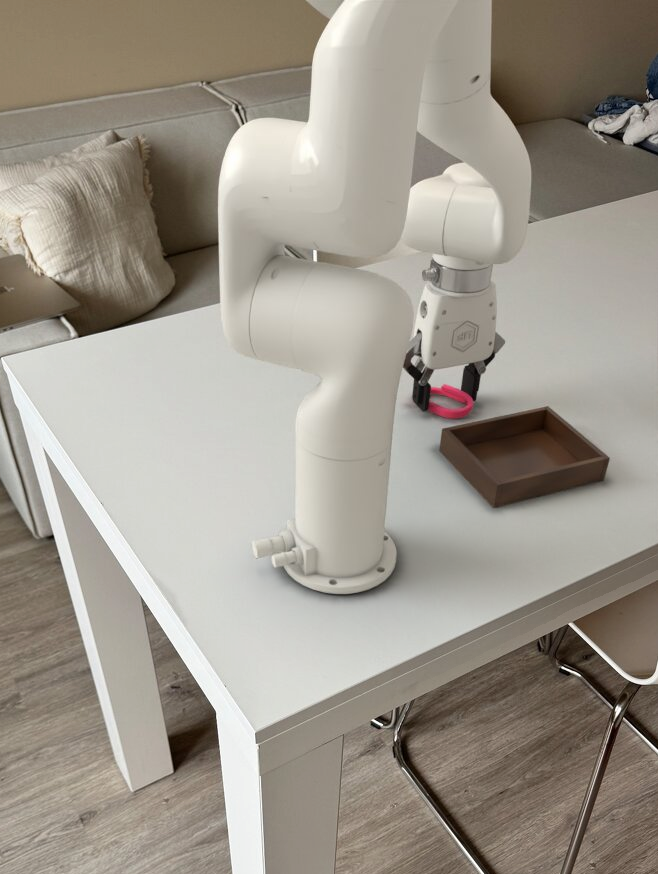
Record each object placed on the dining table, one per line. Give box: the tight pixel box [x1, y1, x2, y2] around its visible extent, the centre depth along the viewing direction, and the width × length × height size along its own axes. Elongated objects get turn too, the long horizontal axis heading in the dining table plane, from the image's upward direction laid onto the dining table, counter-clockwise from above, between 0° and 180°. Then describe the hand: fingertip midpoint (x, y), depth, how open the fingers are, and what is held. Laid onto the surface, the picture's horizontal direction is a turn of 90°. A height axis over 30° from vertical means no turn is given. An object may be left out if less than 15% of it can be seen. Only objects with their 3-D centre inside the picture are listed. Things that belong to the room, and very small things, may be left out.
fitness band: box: [427, 383, 474, 420], centre depth 122 cm, size 8×6×2 cm
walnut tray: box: [438, 405, 611, 509], centre depth 111 cm, size 16×13×3 cm
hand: (444, 400), depth 122 cm, fingers closed on fitness band, 6 cm apart
